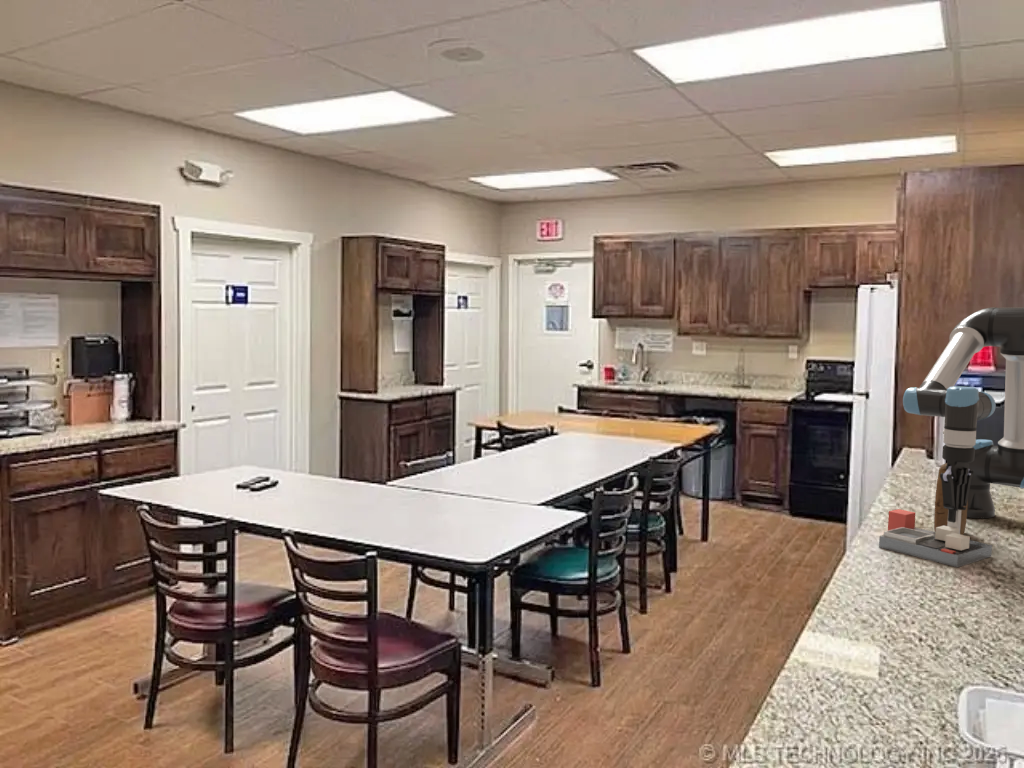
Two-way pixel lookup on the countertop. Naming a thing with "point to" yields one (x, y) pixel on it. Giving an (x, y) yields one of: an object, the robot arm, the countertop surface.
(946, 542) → the toggle
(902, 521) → the coral toy cube
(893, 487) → the countertop surface
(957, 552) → the panel
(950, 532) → the toggle
